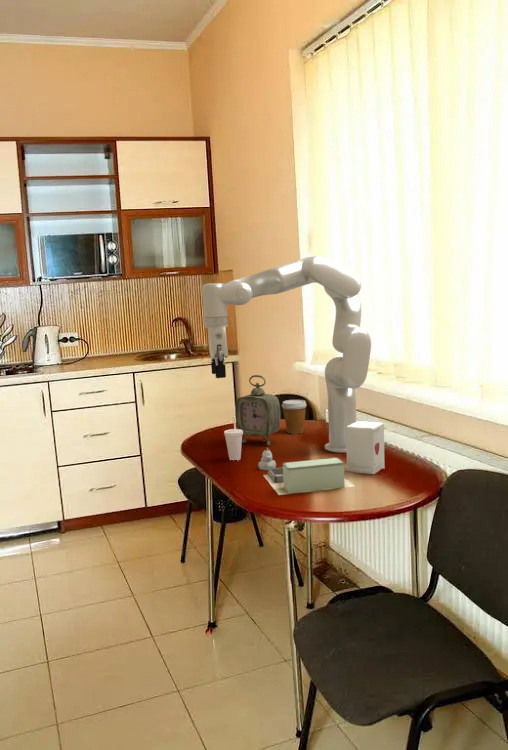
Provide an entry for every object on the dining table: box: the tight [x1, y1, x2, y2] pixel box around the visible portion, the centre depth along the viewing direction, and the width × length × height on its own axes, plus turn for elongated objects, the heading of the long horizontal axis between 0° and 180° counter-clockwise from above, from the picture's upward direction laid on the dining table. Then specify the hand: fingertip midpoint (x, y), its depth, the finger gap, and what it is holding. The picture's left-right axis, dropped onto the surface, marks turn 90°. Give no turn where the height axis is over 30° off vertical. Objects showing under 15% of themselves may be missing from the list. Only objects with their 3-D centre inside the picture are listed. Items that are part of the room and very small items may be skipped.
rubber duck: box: [258, 447, 277, 471], centre depth 219 cm, size 5×7×8 cm
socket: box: [267, 466, 283, 483], centre depth 208 cm, size 9×9×2 cm
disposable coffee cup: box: [281, 399, 308, 435], centre depth 270 cm, size 10×10×12 cm
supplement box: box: [346, 420, 385, 475], centre depth 212 cm, size 9×9×15 cm
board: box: [262, 474, 356, 496], centre depth 204 cm, size 22×20×1 cm
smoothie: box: [223, 417, 244, 462], centre depth 235 cm, size 6×6×14 cm
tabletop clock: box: [235, 374, 281, 447], centre depth 255 cm, size 14×9×25 cm, turn 56°
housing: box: [282, 457, 345, 494], centre depth 197 cm, size 16×6×7 cm, turn 102°
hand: (218, 375), depth 226 cm, fingers open, 9 cm apart
